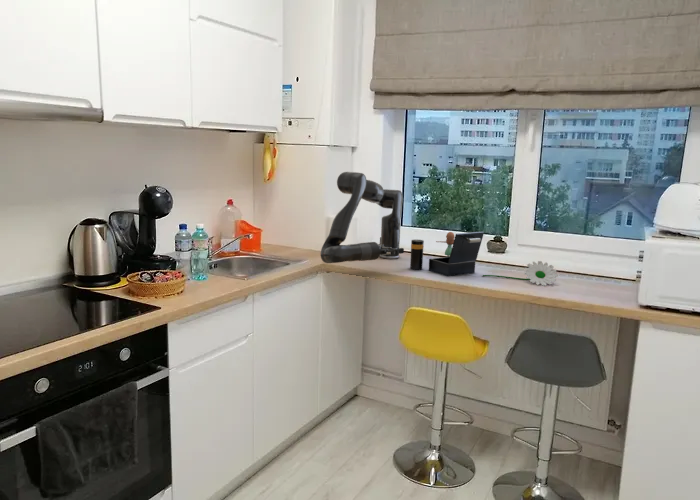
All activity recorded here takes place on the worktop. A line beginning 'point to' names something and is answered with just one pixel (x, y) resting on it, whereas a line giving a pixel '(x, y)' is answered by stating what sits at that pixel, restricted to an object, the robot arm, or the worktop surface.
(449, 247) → the toy
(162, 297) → the worktop surface
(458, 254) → the lid
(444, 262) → the black box
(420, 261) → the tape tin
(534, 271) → the flower
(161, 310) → the worktop surface
